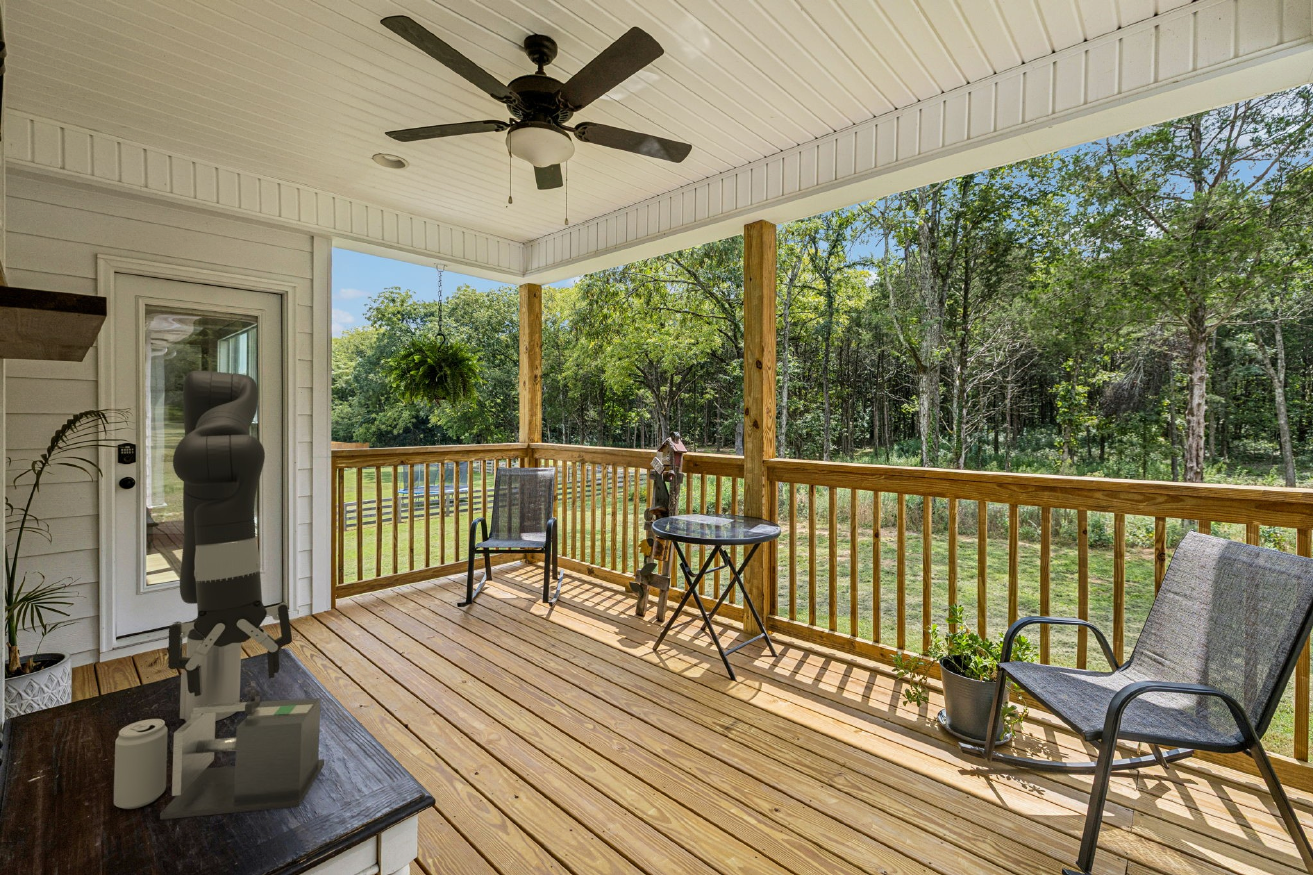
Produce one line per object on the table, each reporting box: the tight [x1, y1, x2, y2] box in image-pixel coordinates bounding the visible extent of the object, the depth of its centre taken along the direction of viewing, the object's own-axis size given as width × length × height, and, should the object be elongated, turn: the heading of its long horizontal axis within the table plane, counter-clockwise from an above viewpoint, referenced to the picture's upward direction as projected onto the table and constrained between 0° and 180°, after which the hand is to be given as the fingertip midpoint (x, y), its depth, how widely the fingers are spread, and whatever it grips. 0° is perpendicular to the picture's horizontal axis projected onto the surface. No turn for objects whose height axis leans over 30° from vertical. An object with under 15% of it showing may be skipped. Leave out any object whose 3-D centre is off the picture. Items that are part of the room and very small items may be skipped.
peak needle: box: [244, 689, 261, 715], centre depth 98 cm, size 1×3×3 cm, turn 13°
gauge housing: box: [159, 697, 325, 821], centre depth 98 cm, size 20×12×13 cm, turn 103°
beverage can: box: [113, 718, 168, 810], centre depth 94 cm, size 6×6×12 cm
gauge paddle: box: [171, 701, 248, 797], centre depth 97 cm, size 9×10×12 cm
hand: (236, 685), depth 83 cm, fingers open, 8 cm apart
